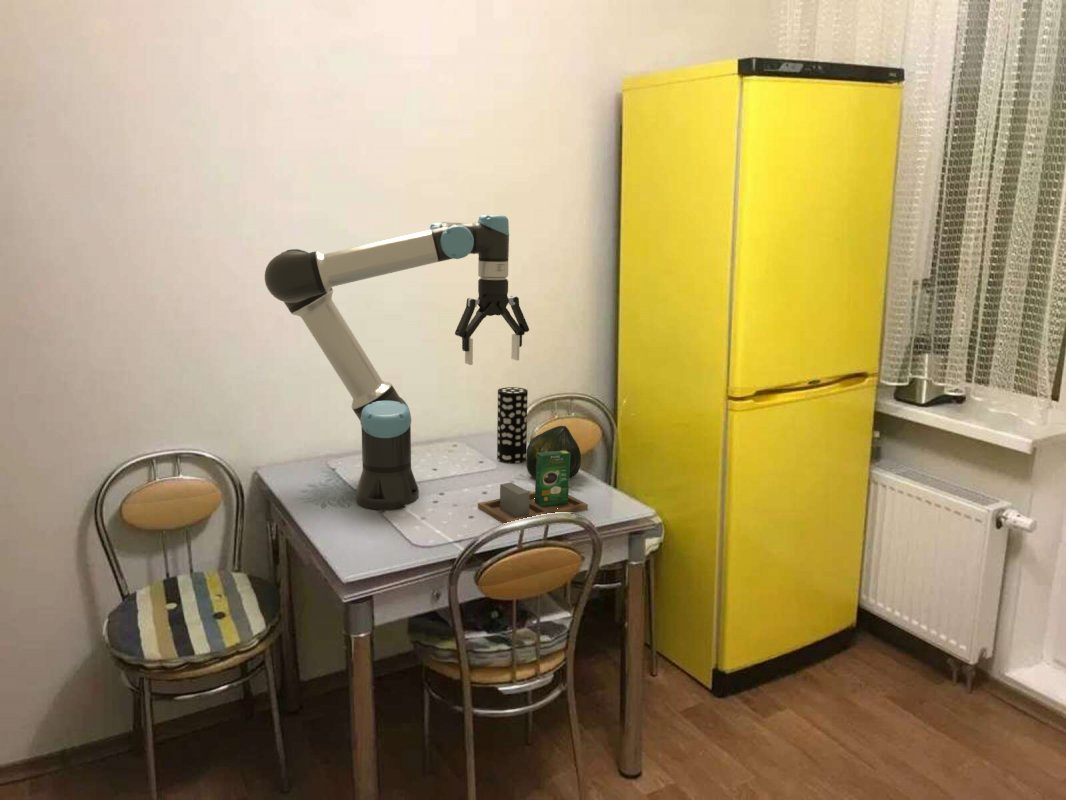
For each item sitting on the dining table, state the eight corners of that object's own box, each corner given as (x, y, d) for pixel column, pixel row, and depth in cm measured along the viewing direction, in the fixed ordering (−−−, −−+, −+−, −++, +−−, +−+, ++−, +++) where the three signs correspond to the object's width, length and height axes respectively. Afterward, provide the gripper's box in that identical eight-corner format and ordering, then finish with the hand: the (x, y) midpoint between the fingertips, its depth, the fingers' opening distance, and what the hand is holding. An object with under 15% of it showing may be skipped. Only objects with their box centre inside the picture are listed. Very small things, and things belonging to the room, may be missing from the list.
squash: (506, 455, 229) (537, 421, 220) (543, 446, 240) (573, 413, 231) (535, 498, 224) (567, 465, 215) (570, 487, 235) (602, 455, 227)
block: (518, 519, 197) (518, 494, 195) (499, 508, 203) (500, 484, 202) (529, 516, 198) (529, 492, 197) (510, 506, 205) (511, 482, 203)
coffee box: (564, 500, 209) (565, 448, 206) (569, 504, 207) (571, 451, 204) (534, 504, 206) (535, 452, 203) (539, 508, 204) (540, 455, 201)
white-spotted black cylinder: (492, 456, 246) (493, 388, 241) (519, 453, 250) (520, 386, 245) (504, 464, 239) (504, 394, 234) (531, 461, 242) (532, 392, 238)
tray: (509, 530, 192) (509, 521, 192) (477, 511, 203) (477, 503, 203) (587, 512, 204) (587, 504, 203) (553, 495, 215) (554, 487, 215)
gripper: (455, 281, 205) (455, 368, 210) (543, 277, 218) (541, 360, 223) (441, 278, 211) (441, 363, 216) (527, 275, 224) (526, 355, 229)
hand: (492, 361), depth 219 cm, fingers open, 13 cm apart
